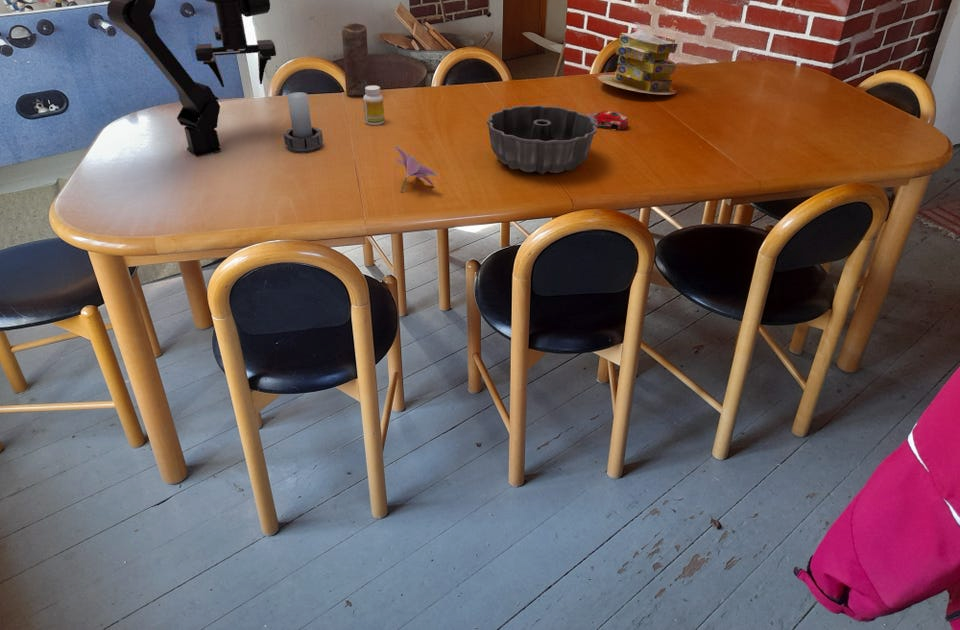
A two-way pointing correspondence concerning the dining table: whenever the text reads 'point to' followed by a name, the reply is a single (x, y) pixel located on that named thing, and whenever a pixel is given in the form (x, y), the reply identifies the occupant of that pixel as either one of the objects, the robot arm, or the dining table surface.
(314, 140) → the socket collar
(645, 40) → the stacked boxes on plate
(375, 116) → the supplement bottle
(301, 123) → the peg
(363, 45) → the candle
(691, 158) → the dining table surface
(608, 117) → the race car
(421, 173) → the lily
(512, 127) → the bundt pan
